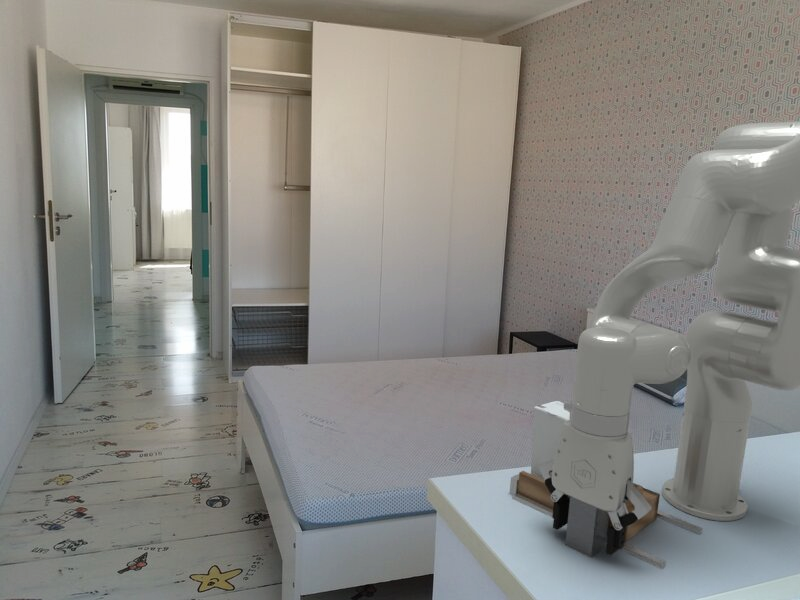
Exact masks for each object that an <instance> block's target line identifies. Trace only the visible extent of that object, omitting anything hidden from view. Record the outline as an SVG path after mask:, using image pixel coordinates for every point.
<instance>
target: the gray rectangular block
mask: <svg viewBox="0 0 800 600" xmlns="http://www.w3.org/2000/svg"><path fill="white" fill-rule="evenodd" d="M608 521H609V514H608V512H606V511H603V510H600V509H598V508H595V507H593V506H591V505H588V504H586V503H584V502H581V501H579V500H577V499H575V498H572V497H570V504H569V514H568V523H567V524H566V536H565V546H567V547H568V548H571V549H572V550H575V551H577V552H579V553H580V554H582V555H584V556H586V557H588V558H593V557H594V556H595V555H597V554H598V553H600V552H601V551H602V550H604V549H606V545H607V543H606V538H607V529H608Z"/></svg>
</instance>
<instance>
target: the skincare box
mask: <svg viewBox="0 0 800 600" xmlns="http://www.w3.org/2000/svg"><path fill="white" fill-rule="evenodd" d="M564 403H565V402H564ZM564 403H563V401H562V402H561V401H559V400H555V401H551V402H547V403H544V404H540V405H537V406H536V405H535V406H534V407H533V414H532V415H533V418H532V436H531V437H532V438H531V439H532V440H531V459H530V460H531V462H530V474H532V475H534V476H537V477H539V478H541V479H544V478H543V476H542V474H541V472H540V470H539V466H540V465H541V464H543V463H546V462H548V461H551V460H554V458H555V453H556V449H557V444H558V441H559V437H560V434H561V431H562V428H563V425H564V422H565V421H567V420H570V419H569V418H570V412H568V411H567V410H564ZM544 480H545V479H544Z"/></svg>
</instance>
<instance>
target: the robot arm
mask: <svg viewBox="0 0 800 600" xmlns="http://www.w3.org/2000/svg"><path fill="white" fill-rule="evenodd" d="M799 202H800V121H780V122H778V121H777V122H774V121H773V122H757V123H756V122H755V123H745V124H739V125H735V126H731V127H728V128H727V129H725V130H723V131H721V132H720V133H719V134H718V135H717V137H716V139H715V142H714V146H713V149H711V150H707V151H702V152H700V153H697V154H695V155H693V156H692V157H691V158H689V160H688V161H687V162H686V163H685V165H684V167H683V169H682V171H681V173H680V175H679V178H678V180H677V183H676V186H675V188H674V191H673V193H672V196H671V198H670V201H669V203H668V206H667V208H666V211H665V213H664V215H663V218H662V220H661V223H660V225H659V227H658V230H657V233H656V235H655V236H654V237H655V238H654V240H653V242H652V244H651V246H650V247H648V249H646V251H644V252H643V253H641V254H640V255H639V256H637V257H636V258H635V259H633V260H632V261H630V262H629V263H628V264H627V265H626V266H625V267H624V268H623V269H621V270H620V272H619V273H617V274H616V275H615V276H614V277H613V278H612V279H611V280H610V281H609V282H608V284H607V285H606V286H605V288H604V289H603V291H602V293H601V295H600V296H599V299H598V301H597V304H596V306H595V308H594V311H593V313H592V316H591V319H590V322H589V324H588V328H587V329H585V330H583V331H582V332H581V333H580V335H579V337H578V342H577V351H576V361H575V371H574V382H573V389H572V390H573V391H572V400H571V401H569V400H566V401H565V402H564V410H567V411H568V412H570V418H569V419H570V420H567V421H565V422H564V425H563V428H562V431H561V434H560V437H559V441H558V444H557V449H556V453H555V458H554V460H551V461H548V462H546V463H543V464H541V465H540V466H539V470H540V472H541V474H542V476H543V478H544V479H545V485H546V486H547V488H548V490H549V491H550V493H551V500H552V501H554V506H553V516H552V517H551V518H552V519H553V521H552V528H553V529H554V530H559V529H561V528H563V527H565V526H567V523H568V514H569V504H570V497H572V498H575V499H577V500H579V501H581V502H584V503H586V504H588V505H591V506H593V507H595V508H598V509H600V510H603V511H606V512H608V514H609V516H610V519H611V522H612V524H613V525H612V526H610V527H609V529H608V536H607V543H606V546H605V553H606V554H607V555H608V556H610V557H611V556H613V555H614V554H615V553H616V552H618V551H621V549H622V548H623V546H624V541H625V533H626V526H629V525H631V524H633V523H635V522H636V521H637V520H639V519H640V518H642V517H643V516H644V515H646V514H647V513H648V512H650V511H651V509H652V508H651V506H650V504H649V503H648V502H647V501H646V499H645V498H644V497H643V496H642V495H641V493H640V492H639V491H638V490H637V488H636V487H635V486H634V485H633V483H634V474H635V472H634V471H635V469H634V468H635V461H634V459H635V457H634V456H635V455H634V443H633V435H632V434H631V433H629V424H630V417H631V416H630V415H631V408H632V399H633V391H634V385H635V384H649V385H650V384H653V385H655V384H656V385H661V384H668V383H671V382H674V381H676V380H677V379H679V378H680V377H681V376H682V375H683V374H684V373H685V372H686V371H687V373H686V376H687V377H686V388H685V396H684V402H683V404H684V405H683V411H682V417H681V418H682V419H681V426H680V433H679V440H678V441H679V442H678V446H677V456H676V463H675V468H674V469H675V470H674V476H673V478H671V479H668V480H667V481H664V483H663V485H662V488H661V489H662V490H661V493H662V497H663V498H664V499H665V500H666V502H668V503H669V504H670V505H671V506H673V507H674V508H675V509H678V510H680V511H682V512H683V513H686V514H688V515H691V516H695V517H697V518H700V519H701V518H702V519H704V520H710V521H719V522H732V521H737V520H739V519H742V518H743V517H745V516H746V515H747V512H748V502H747V500H745V498H744V497H743V496H741V494H739V491H740V484H741V477H742V471H743V466H744V459H745V452H746V447H747V446H746V445H747V442H748V434H749V428H750V422H751V417H752V416H751V415H752V408H753V405H752V397H751V394H750V390H749V388H748V385H747V383H746V381H747V382H749V383H753V384H756V385H759V386H762V387H767V388H770V389H775V390H778V391H793V390H797V389H798V388H800V249H795V248H789V247H788V242H789V238H790V233H791V229H792V225H793V221H794V212H793V208H792V207H793V206H794V205H795V204H797V203H799ZM719 253H720V254H719ZM717 259H718V261H717ZM716 262H717V264H716ZM715 264H716V268H715V272H714V277H713V290H714V292H715V294H716V295H717V297H719V298H720V299H721V300H723V301H725V302H728V303H731V304H735V305H739V306H743V307H747V308H753V309H758V310H763V311H767V312H773V313H777V314H778V315H777V317H778V318H777V321H773V320H768V319H763V318H762V319H761V318H759V317H754V316H751V315H747V314H741V313H736V312H731V311H724V310H710V311H705V312H702V313H701V314H698V315H697V316H695V318H693V320H692V321H691V322H690V323H689V324H690V325H689V326H688V328H687V330H686V335H685V338H684V337H683V336H682V335H680V333H678V332H676V331H673V330H671V329H668V328H666V327H660V326H656V325H653V324H649V323H647V322H642V321H638V320H634V319H631V317H632V314H633V313H634V310H635V309H636V307H637V306H638V304H639V303H640V301H642V300H643V299H644V298H645V297H646V296H647V295H649V293H651V292H653V291H654V290H656V289H658V288H660V287H663V286H664V285H667V284H670V283H674V282H677V281H680V280H683V279H687V278H690V277H693V276H697V275H702V274H703V273H707V272H708V271H710V270H711V269H712V268H713V267H714V266H715ZM568 496H570V497H568ZM629 501H631V502H632V504H633V505H634V506H635V510H634V511H632V512H630V513H628V510H627V508H626V505H625V503H628V502H629Z"/></svg>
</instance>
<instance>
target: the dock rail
mask: <svg viewBox="0 0 800 600" xmlns="http://www.w3.org/2000/svg"><path fill="white" fill-rule="evenodd" d="M518 483H519V473H517V474H516V475H513V476H511V477H510V483H509V495H512V499H513V500H514V501H517V502H519V503H521V504H523V505H526V506H527V507H530V508H532V509H534V510H536V511H538V512H540V513H542V514H544V515H547V516H549V517H551V518H553V517H552V516H553V509H550V508H548V507H546V506H544V505H542V504H539V503H537V502H535V501H533V500H531V499H529V498H526V497H524V496H522V495H520V494H518ZM657 518H658V519H661V520H664V521H665V522H668V523H670V524H673V525H675V526H677V527H680V528H681V529H684V530H687V531H690V532H692V533H695V534H697V535H702V533H703V529H704V528H702V527H700V526H698V525H695V524H693V523H691V522H688V521H685V520H683V519H681V518H678V517H675V516H673V515H671V514H668V513H666V512H664V511H662V510H659V509H658V512H657ZM607 536H608V535H607ZM606 544H607V538H606ZM620 551H624V552H625V553H628V554H630V555H631V556H634V557H636V558H638V559H640V560H642V561H645V562H646V563H648V564H651V565H653V566H655V567H657V568H659V569H661V570H663V569H664V568H665V567H666V565H667V561H665V560H663V559H661V558H658V557H656V556H654V555H652V554H650V553H648V552H646V551H644V550H642V549H640V548H637V547H634V546H633V545H630V544H628V543H626V542H625V543H624V546H623V548H622V549H620Z"/></svg>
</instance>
